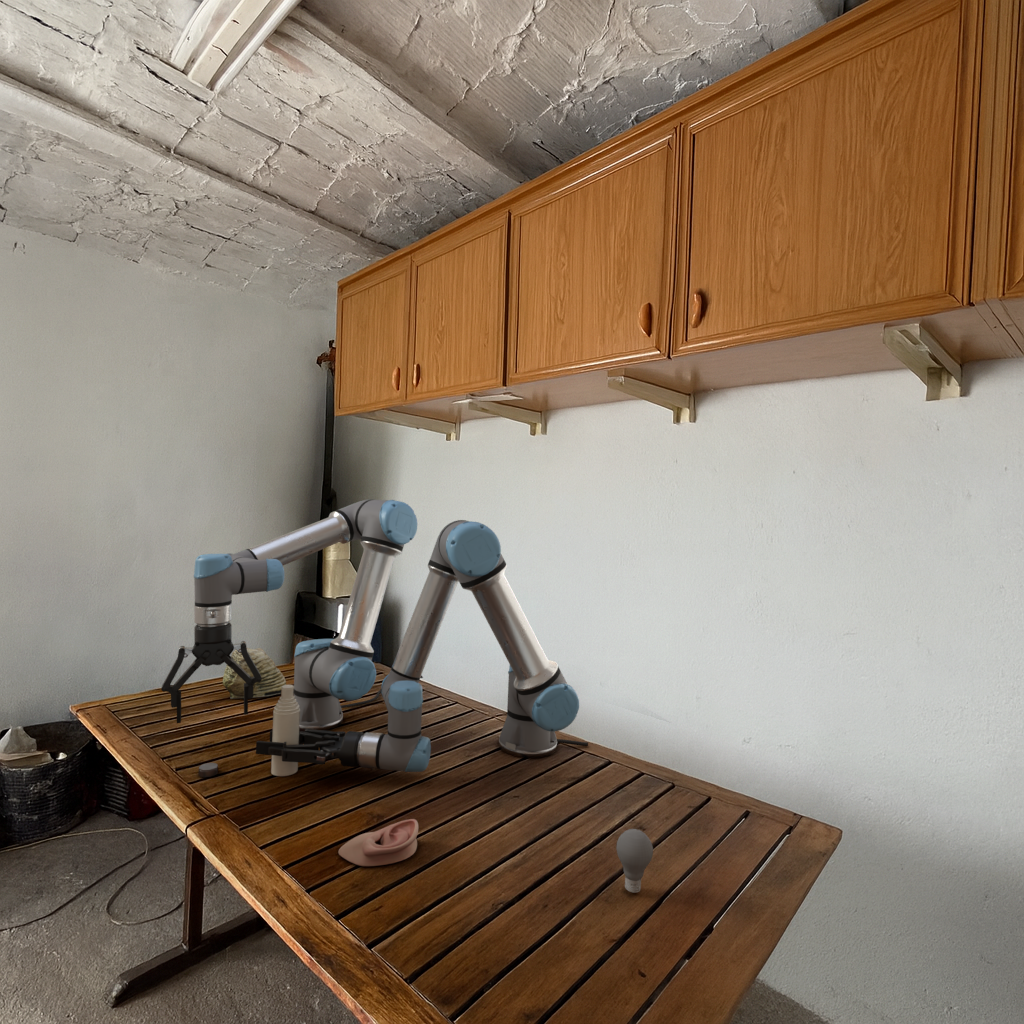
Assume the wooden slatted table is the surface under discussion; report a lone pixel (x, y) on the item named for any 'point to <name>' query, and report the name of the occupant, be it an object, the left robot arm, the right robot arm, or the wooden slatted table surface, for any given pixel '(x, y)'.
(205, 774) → the cap
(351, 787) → the wooden slatted table surface
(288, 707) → the bottle
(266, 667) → the fossil
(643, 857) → the light bulb
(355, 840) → the anatomical model
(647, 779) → the wooden slatted table surface
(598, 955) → the wooden slatted table surface
